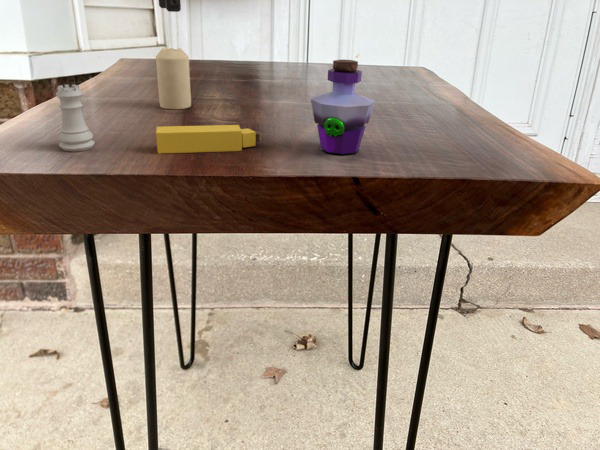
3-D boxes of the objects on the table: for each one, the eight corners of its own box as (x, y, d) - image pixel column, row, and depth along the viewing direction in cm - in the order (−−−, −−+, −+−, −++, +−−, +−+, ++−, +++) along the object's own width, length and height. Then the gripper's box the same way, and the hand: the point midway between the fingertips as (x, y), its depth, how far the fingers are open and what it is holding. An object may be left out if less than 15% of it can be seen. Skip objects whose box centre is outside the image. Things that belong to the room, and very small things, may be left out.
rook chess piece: (59, 143, 71) (50, 83, 68) (95, 141, 73) (87, 82, 69) (58, 153, 68) (47, 90, 64) (95, 150, 69) (87, 89, 66)
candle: (195, 104, 96) (192, 46, 92) (184, 110, 91) (180, 50, 87) (167, 102, 97) (162, 44, 93) (154, 108, 92) (149, 48, 88)
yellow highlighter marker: (157, 153, 69) (156, 132, 68) (158, 146, 72) (156, 125, 71) (261, 150, 72) (261, 130, 71) (257, 143, 75) (257, 123, 74)
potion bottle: (309, 158, 69) (313, 63, 64) (307, 140, 77) (310, 54, 72) (375, 160, 69) (384, 65, 64) (366, 141, 77) (373, 56, 72)
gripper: (131, -102, 85) (141, 7, 92) (140, -114, 73) (151, 12, 80) (178, -98, 88) (185, 7, 95) (194, -109, 76) (200, 12, 83)
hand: (169, 9), depth 87 cm, fingers open, 8 cm apart
